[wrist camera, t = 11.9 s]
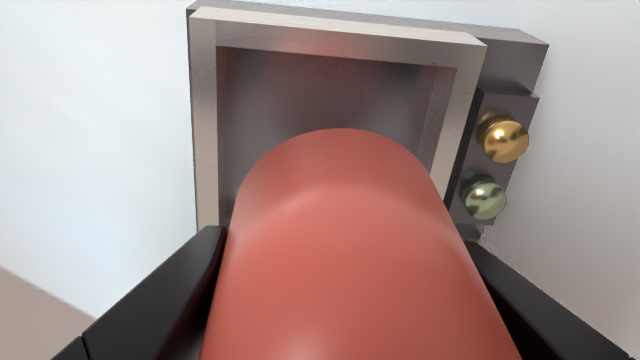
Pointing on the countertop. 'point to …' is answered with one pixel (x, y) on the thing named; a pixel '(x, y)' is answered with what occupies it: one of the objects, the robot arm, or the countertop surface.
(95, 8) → the countertop surface
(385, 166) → the cap
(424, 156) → the breaker panel
